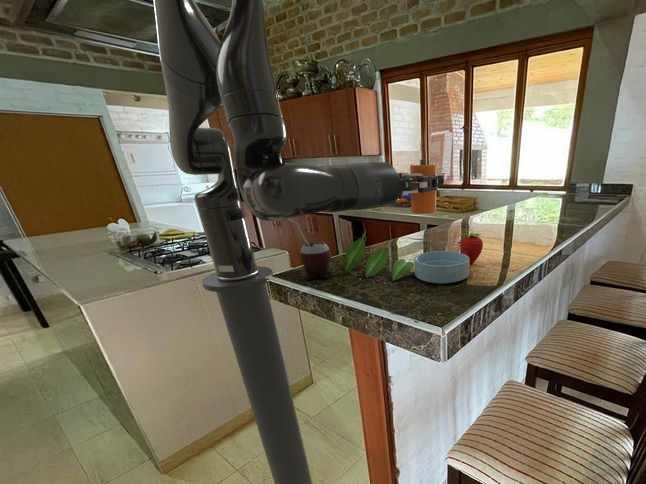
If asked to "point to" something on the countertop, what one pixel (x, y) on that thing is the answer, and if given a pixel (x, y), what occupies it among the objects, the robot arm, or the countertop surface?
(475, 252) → the strawberry
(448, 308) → the countertop surface
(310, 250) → the mate gourd
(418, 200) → the vegetable
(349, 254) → the leaves
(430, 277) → the bowl
